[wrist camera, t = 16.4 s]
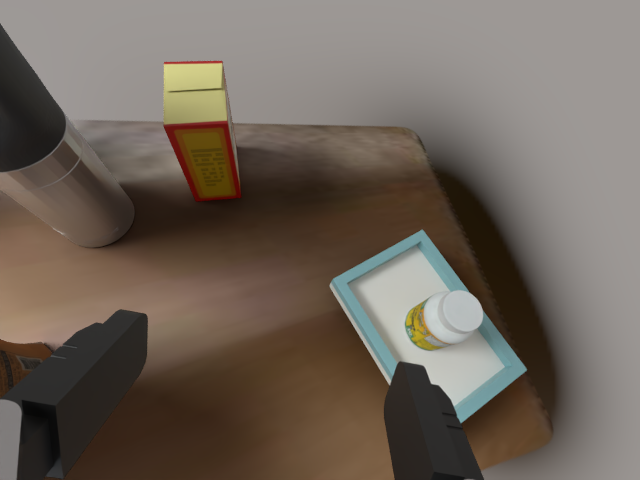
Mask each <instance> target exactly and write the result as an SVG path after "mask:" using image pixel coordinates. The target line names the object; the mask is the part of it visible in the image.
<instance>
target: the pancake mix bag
mask: <svg viewBox="0 0 640 480" xmlns="http://www.w3.org/2000/svg"><path fill="white" fill-rule="evenodd" d="M51 354H52V352H51V351H50V350H49V349H48V348H47V347H46V346H45V345H44V344H43V343H42V342H38V343H28V344H18V343H11V342H6V341H3V340H1V339H0V398H1V397H2V396H4V395H5V394H6V393H7V392H8V391H9V390H11V389H12V388H13V387H14V386H15V385H16V384H18V383H19V382H20V381H21V380H22V379H23V378H24V377H26V376H27V375H28V374H29V373H30V372H31V371H33V370H34V369H35V368H36V367H37V366H38V365H39V364H41V363H42V362H43V361H44V360H45V359H46V358H48V357H51Z"/></svg>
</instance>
